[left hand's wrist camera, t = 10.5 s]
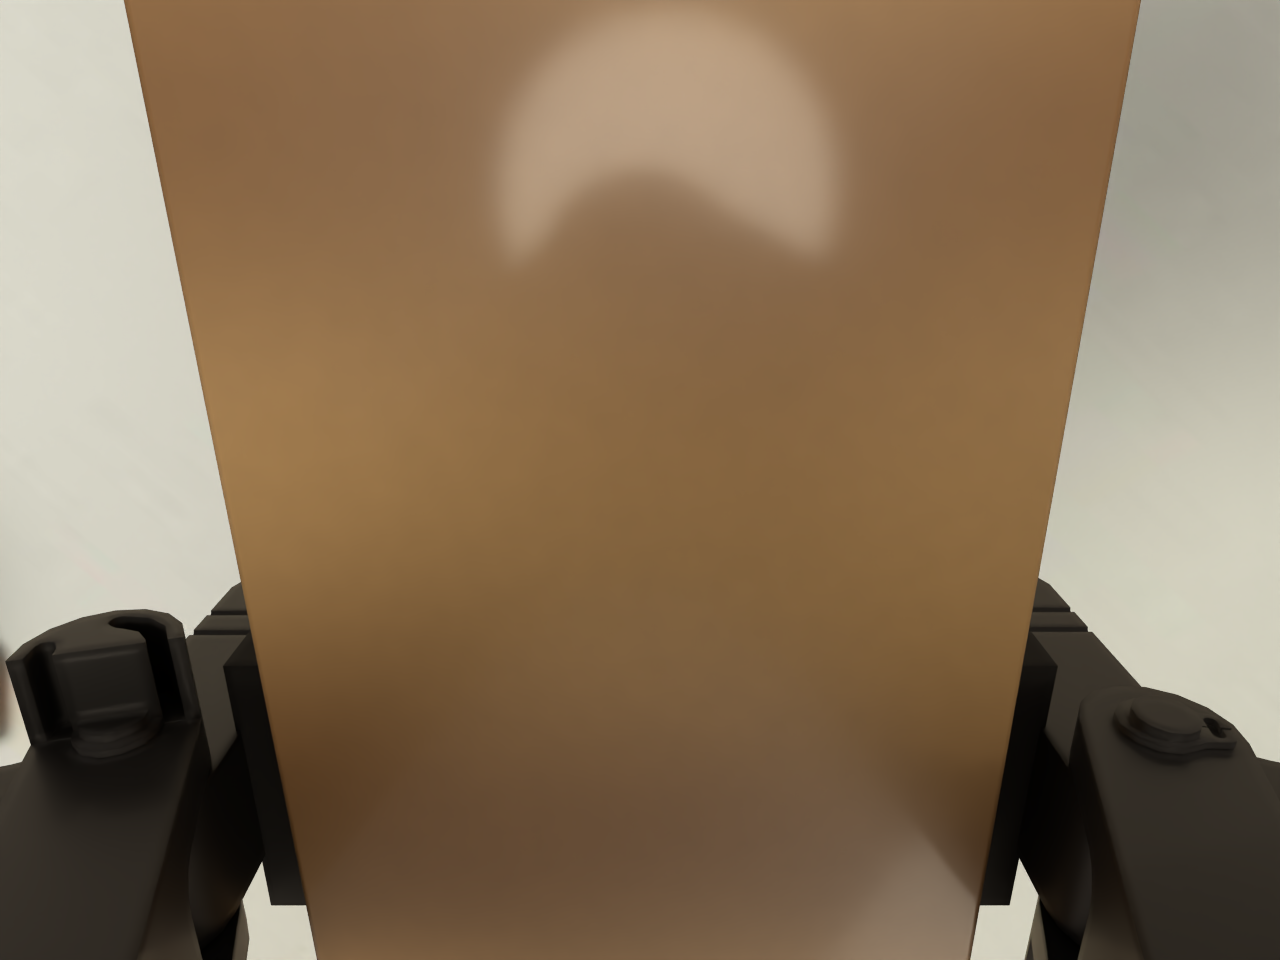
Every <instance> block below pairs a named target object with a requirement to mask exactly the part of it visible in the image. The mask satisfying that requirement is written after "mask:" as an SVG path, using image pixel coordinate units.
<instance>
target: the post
mask: <svg viewBox="0 0 1280 960" xmlns="http://www.w3.org/2000/svg"><path fill="white" fill-rule="evenodd" d="M124 3H125V8H126V13H127V18H128V23H129V28H130V33H131V38H132V43H133V48H134V53H135V58H136V62H137V67H138V72H139V77H140V82H141V87H142V92H143V97H144V102H145V107H146V112H147V117H148V122H149V127H150V132H151V137H152V142H153V147H154V152H155V157H156V162H157V167H158V172H159V177H160V182H161V187H162V192H163V197H164V202H165V206H166V211H167V216H168V221H169V226H170V231H171V236H172V241H173V246H174V251H175V256H176V261H177V266H178V271H179V276H180V281H181V286H182V291H183V296H184V301H185V306H186V311H187V316H188V321H189V326H190V331H191V336H192V341H193V346H194V350H195V355H196V360H197V365H198V370H199V375H200V380H201V385H202V390H203V395H204V400H205V405H206V410H207V415H208V420H209V425H210V430H211V435H212V440H213V445H214V450H215V455H216V460H217V465H218V470H219V475H220V480H221V485H222V489H223V494H224V499H225V504H226V509H227V514H228V519H229V524H230V529H231V534H232V539H233V544H234V549H235V554H236V559H237V564H238V569H239V574H240V579H241V584H242V589H243V594H244V599H245V604H246V609H247V614H248V619H249V624H250V629H251V633H252V638H253V643H254V648H255V653H256V658H257V663H258V668H259V673H260V678H261V683H262V688H263V693H264V698H265V703H266V708H267V713H268V718H269V723H270V728H271V733H272V738H273V743H274V748H275V753H276V758H277V763H278V768H279V773H280V777H281V782H282V787H283V792H284V797H285V802H286V807H287V812H288V817H289V822H290V827H291V832H292V837H293V842H294V847H295V852H296V857H297V862H298V867H299V872H300V877H301V882H302V887H303V892H304V897H305V902H306V907H307V912H308V916H309V921H310V926H311V931H312V936H313V941H314V946H315V951H316V956H317V960H970V957H971V952H972V946H973V940H974V935H975V929H976V924H977V918H978V912H979V907H980V901H981V896H982V890H983V884H984V879H985V873H986V867H987V862H988V856H989V851H990V845H991V839H992V834H993V828H994V823H995V817H996V811H997V806H998V800H999V794H1000V789H1001V783H1002V778H1003V772H1004V766H1005V761H1006V755H1007V750H1008V744H1009V738H1010V733H1011V727H1012V721H1013V716H1014V710H1015V705H1016V699H1017V693H1018V688H1019V682H1020V677H1021V671H1022V665H1023V660H1024V654H1025V648H1026V643H1027V637H1028V632H1029V626H1030V620H1031V615H1032V609H1033V603H1034V598H1035V592H1036V587H1037V581H1038V575H1039V570H1040V564H1041V559H1042V553H1043V547H1044V542H1045V536H1046V530H1047V525H1048V519H1049V514H1050V508H1051V502H1052V497H1053V491H1054V486H1055V480H1056V474H1057V469H1058V463H1059V457H1060V452H1061V446H1062V441H1063V435H1064V429H1065V424H1066V418H1067V413H1068V407H1069V401H1070V396H1071V390H1072V384H1073V379H1074V373H1075V368H1076V362H1077V356H1078V351H1079V345H1080V340H1081V334H1082V328H1083V323H1084V317H1085V311H1086V306H1087V300H1088V295H1089V289H1090V283H1091V278H1092V272H1093V267H1094V261H1095V255H1096V250H1097V244H1098V238H1099V233H1100V227H1101V222H1102V216H1103V210H1104V205H1105V199H1106V194H1107V188H1108V182H1109V177H1110V171H1111V165H1112V160H1113V154H1114V149H1115V143H1116V137H1117V132H1118V126H1119V120H1120V115H1121V109H1122V104H1123V98H1124V92H1125V87H1126V81H1127V76H1128V70H1129V64H1130V59H1131V53H1132V47H1133V42H1134V36H1135V31H1136V25H1137V19H1138V14H1139V8H1140V3H1141V0H124Z"/></svg>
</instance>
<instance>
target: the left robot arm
mask: <svg viewBox="0 0 1280 960" xmlns="http://www.w3.org/2000/svg"><path fill="white" fill-rule="evenodd" d="M5 662H6V665H7V669H8V672H9V675H10V678H11V682H12V685H13V688H14V691H15V695H16V698H17V701H18V704H19V708H20V711H21V714H22V717H23V721H24V724H25V727H26V730H27V734H28V737H29V740H30V743H31V746H30V748H29V750H28V751H27V753H26V755H25V757H24V759H23V761H22V762H20V763H16V764H12V765H7V766H2V767H0V960H246V959H247V952H248V944H249V933H248V926H247V919H246V914H245V910H244V905H243V900H242V899H243V897H244V895H245V893H246V891H247V890H248V888H249V886H250V884H251V882H252V880H253V878H254V876H255V874H256V872H257V870H258V868H259V866H260V864H261V862H263V867H264V872H265V877H266V882H267V887H268V892H269V897H270V902H271V905H306V902H305V897H304V892H303V887H302V882H301V877H300V872H299V867H298V862H297V857H296V852H295V847H294V842H293V837H292V832H291V827H290V822H289V817H288V812H287V807H286V802H285V797H284V792H283V787H282V782H281V777H280V773H279V768H278V763H277V758H276V753H275V748H274V743H273V738H272V733H271V728H270V723H269V718H268V713H267V708H266V703H265V698H264V693H263V688H262V683H261V678H260V673H259V668H258V663H257V658H256V653H255V648H254V643H253V638H252V633H251V629H250V624H249V619H248V614H247V609H246V604H245V599H244V594H243V589H242V584H241V582H240V583H239V584H237V585H235V586H233V587H232V588H231V589H230V590H229V591H228V592H227V593H226V595H225V596H224V597H223V598H222V599H221V600H220V601H219V602H218V604H217V605H216V606H215V607H214V608H213V609H212V610H211V615H207V616H206V617H205V618H204V619H203V620H202V622H201V623H200V624H199V625H198V626H197V627H196V628H195V629H194V635H189V636H188V637H187V638H185V634H184V629H183V625H182V623H181V622H180V621H179V620H177V619H176V618H174V617H173V616H172V615H170V614H169V613H163V612H158V611H152V610H147V609H140V610H117V611H111V612H106V613H101V614H97V615H92V616H87V617H82V618H79V619H77V620H74V621H71V622H68V623H66V624H63V625H60V626H57V627H55V628H52V629H49V630H48V631H46V632H44V633H42V634H41V635H39V636H37V637H35V638H33V639H32V640H30V641H28V642H26V643H25V644H23V645H22V646H21V647H20V648H19V649H18V650H17V651H16V652H15V653H14V654H13V655H12V656H10V657H9V658H8V659H7V660H6V661H5ZM1019 858H1020V860H1021V862H1022V864H1023V866H1024V868H1025V870H1026V872H1027V874H1028V876H1029V878H1030V879H1031V881H1032V883H1033V885H1034V887H1035V889H1036V891H1037V893H1038V895H1039V896H1038V900H1037V905H1036V910H1035V914H1034V919H1033V923H1032V928H1031V933H1030V937H1029V942H1028V946H1027V951H1026V955H1025V960H1280V763H1279V762H1274V761H1269V760H1265V759H1261V758H1257V757H1256V755H1255V754H1254V752H1253V750H1252V748H1251V746H1250V744H1249V743H1248V742H1247V741H1246V739H1245V738H1244V737H1243V736H1242V735H1241V733H1240V732H1239V731H1238V730H1237V729H1236V728H1235V726H1234V725H1233V724H1231V723H1230V722H1228V721H1227V720H1225V719H1224V718H1222V717H1221V716H1219V715H1218V714H1216V713H1215V712H1213V711H1212V710H1210V709H1209V708H1207V707H1205V706H1202V705H1200V704H1198V703H1195V702H1193V701H1190V700H1188V699H1186V698H1183V697H1181V696H1179V695H1176V694H1172V693H1168V692H1163V691H1159V690H1155V689H1151V688H1147V687H1141V686H1140V685H1139V684H1138V683H1137V681H1136V680H1135V679H1134V678H1133V677H1132V676H1131V675H1130V674H1129V673H1128V671H1127V670H1126V669H1125V668H1124V667H1123V666H1122V665H1121V664H1120V662H1119V661H1118V660H1117V659H1116V658H1115V657H1114V656H1113V655H1112V654H1111V652H1110V651H1109V650H1108V649H1107V648H1106V647H1105V646H1104V645H1103V644H1102V642H1101V641H1100V640H1099V639H1098V638H1097V637H1096V636H1095V635H1094V633H1093V632H1088V627H1087V626H1086V625H1085V623H1084V622H1083V621H1082V620H1081V619H1080V618H1079V617H1078V616H1077V615H1076V613H1075V612H1070V607H1069V606H1068V604H1067V603H1066V602H1065V601H1064V600H1063V599H1062V598H1061V597H1060V596H1059V594H1058V593H1057V592H1056V591H1055V590H1054V589H1053V588H1052V587H1051V586H1050V584H1048V583H1046V582H1044V581H1043V580H1041V579H1039V578H1038V581H1037V587H1036V592H1035V598H1034V603H1033V609H1032V615H1031V620H1030V626H1029V632H1028V637H1027V643H1026V648H1025V654H1024V660H1023V665H1022V671H1021V677H1020V682H1019V688H1018V693H1017V699H1016V705H1015V710H1014V716H1013V721H1012V727H1011V733H1010V738H1009V744H1008V750H1007V755H1006V761H1005V766H1004V772H1003V778H1002V783H1001V789H1000V794H999V800H998V806H997V811H996V817H995V823H994V828H993V834H992V839H991V845H990V851H989V856H988V862H987V867H986V873H985V879H984V884H983V890H982V896H981V901H980V905H1010V900H1011V895H1012V890H1013V885H1014V880H1015V876H1016V871H1017V866H1018V861H1019Z"/></svg>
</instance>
